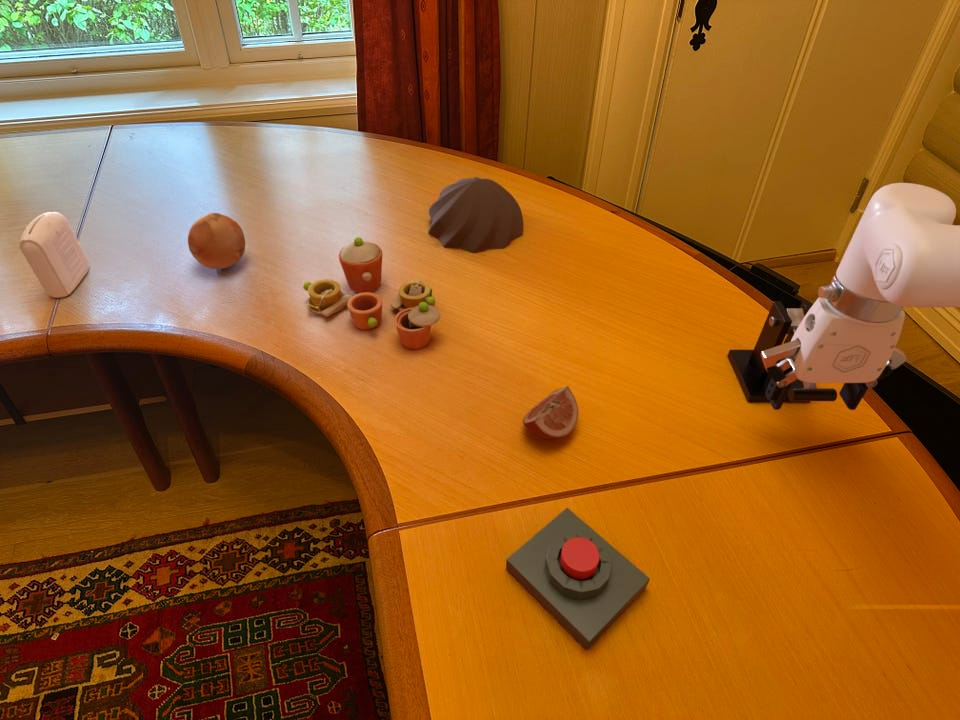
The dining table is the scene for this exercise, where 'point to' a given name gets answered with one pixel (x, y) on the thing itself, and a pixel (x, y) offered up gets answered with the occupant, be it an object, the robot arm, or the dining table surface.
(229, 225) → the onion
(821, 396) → the lever
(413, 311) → the toy tea set
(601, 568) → the button box
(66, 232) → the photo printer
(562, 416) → the fruit slice
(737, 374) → the bracket
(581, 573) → the button
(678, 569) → the dining table surface
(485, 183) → the decorative dome
